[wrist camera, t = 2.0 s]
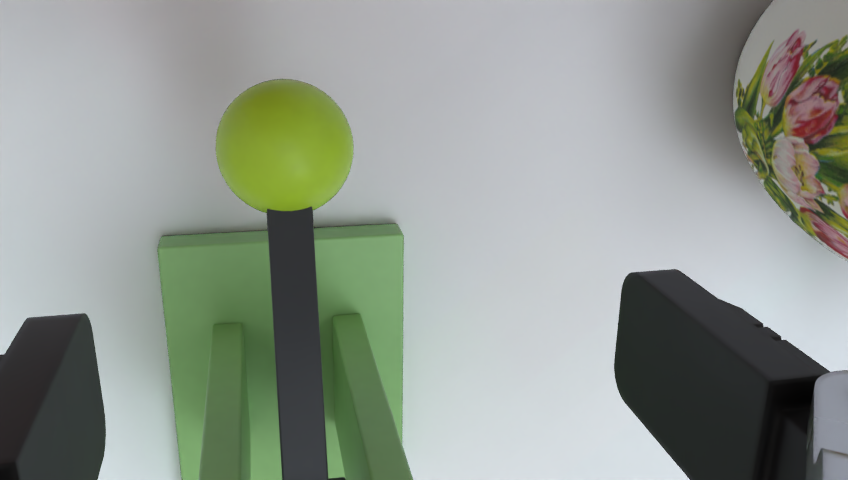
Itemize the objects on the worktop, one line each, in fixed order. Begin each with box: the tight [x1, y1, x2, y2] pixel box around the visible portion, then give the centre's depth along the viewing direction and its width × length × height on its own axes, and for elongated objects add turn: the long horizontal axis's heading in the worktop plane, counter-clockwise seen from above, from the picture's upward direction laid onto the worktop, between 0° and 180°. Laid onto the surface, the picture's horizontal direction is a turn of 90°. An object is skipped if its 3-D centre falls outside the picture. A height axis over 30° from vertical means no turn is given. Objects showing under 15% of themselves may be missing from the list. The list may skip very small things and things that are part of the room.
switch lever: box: [216, 79, 353, 480], centre depth 20 cm, size 13×3×3 cm, turn 179°
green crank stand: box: [157, 224, 413, 480], centre depth 23 cm, size 10×8×12 cm
